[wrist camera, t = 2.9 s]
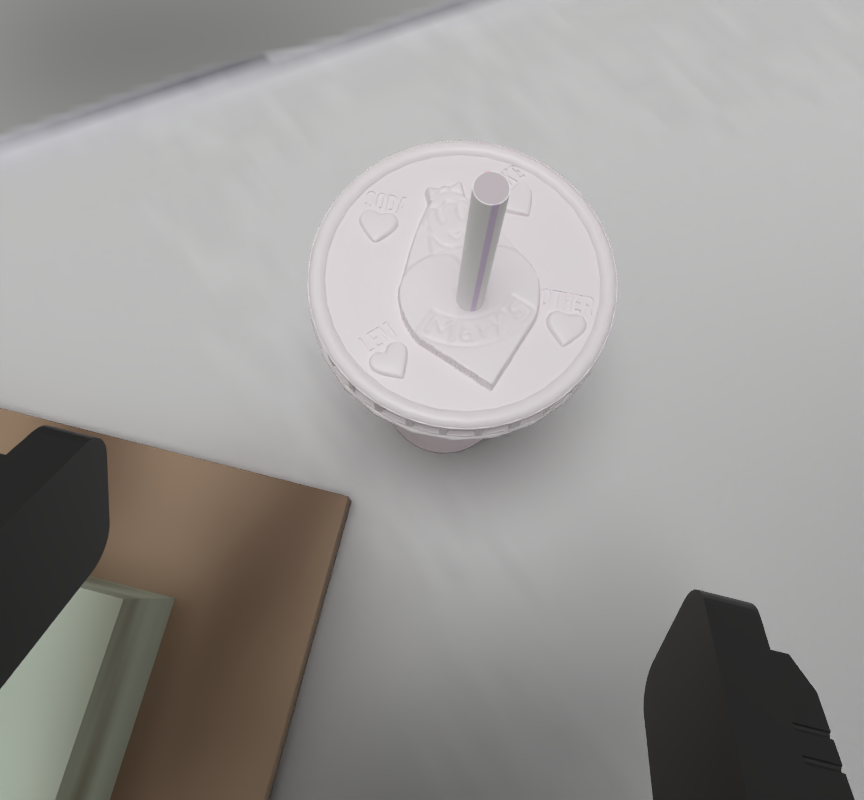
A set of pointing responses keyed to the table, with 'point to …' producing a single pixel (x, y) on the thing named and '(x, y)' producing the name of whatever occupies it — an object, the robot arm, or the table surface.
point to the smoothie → (461, 291)
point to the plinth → (173, 635)
